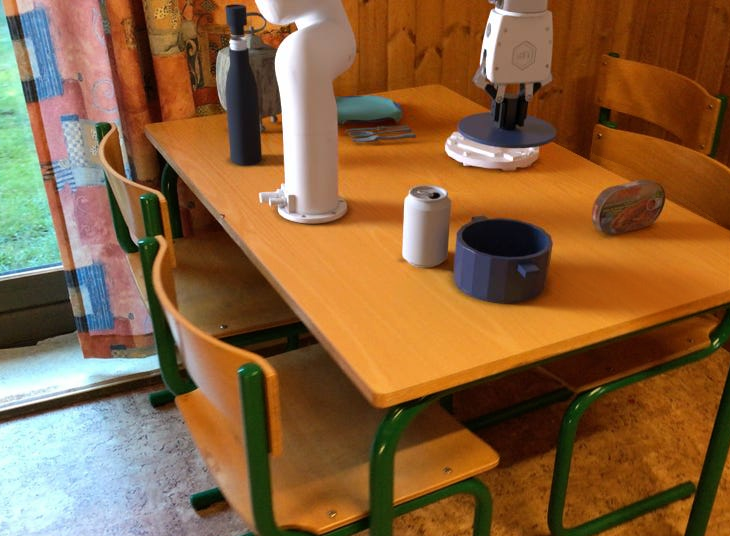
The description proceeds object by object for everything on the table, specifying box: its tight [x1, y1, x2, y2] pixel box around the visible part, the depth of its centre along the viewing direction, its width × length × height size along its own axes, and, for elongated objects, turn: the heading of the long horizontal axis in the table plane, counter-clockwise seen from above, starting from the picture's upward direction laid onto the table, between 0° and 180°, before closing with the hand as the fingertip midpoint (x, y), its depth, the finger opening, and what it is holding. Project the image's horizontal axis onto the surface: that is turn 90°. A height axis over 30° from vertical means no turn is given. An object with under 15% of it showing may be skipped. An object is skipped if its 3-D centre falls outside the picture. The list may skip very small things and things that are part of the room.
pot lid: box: [457, 92, 558, 148], centre depth 133 cm, size 16×16×6 cm
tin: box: [591, 179, 666, 236], centre depth 149 cm, size 15×3×8 cm, turn 117°
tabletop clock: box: [215, 11, 282, 134], centre depth 184 cm, size 14×9×25 cm, turn 122°
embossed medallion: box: [444, 131, 540, 172], centre depth 180 cm, size 20×20×3 cm
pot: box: [453, 214, 554, 304], centre depth 132 cm, size 15×20×8 cm
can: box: [401, 184, 452, 269], centre depth 136 cm, size 8×8×12 cm
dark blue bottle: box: [224, 3, 263, 167], centre depth 166 cm, size 6×6×30 cm
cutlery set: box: [335, 94, 417, 144], centre depth 196 cm, size 20×30×2 cm, turn 15°
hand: (507, 123), depth 133 cm, fingers closed on pot lid, 2 cm apart
